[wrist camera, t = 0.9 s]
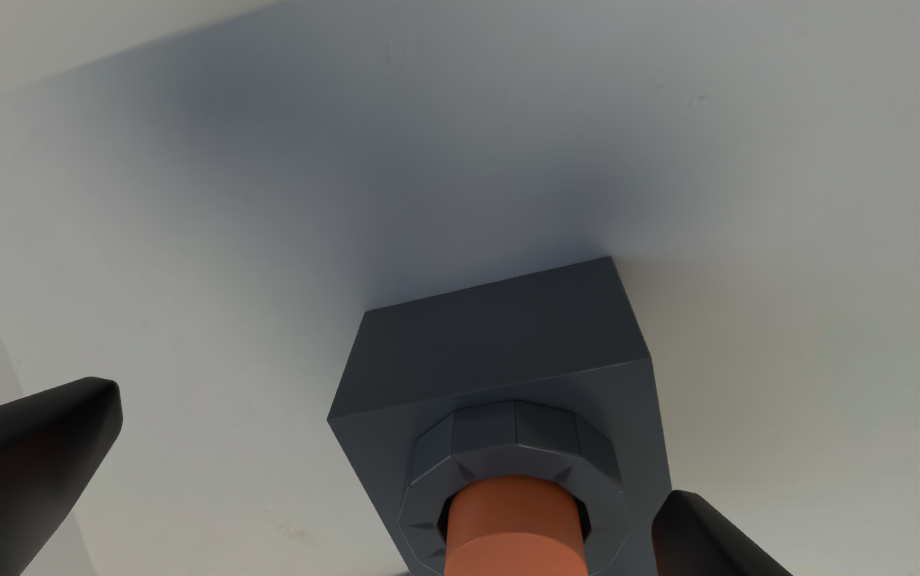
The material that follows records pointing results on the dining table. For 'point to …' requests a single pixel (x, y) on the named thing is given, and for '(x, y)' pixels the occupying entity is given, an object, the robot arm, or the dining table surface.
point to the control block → (509, 410)
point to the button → (514, 530)
